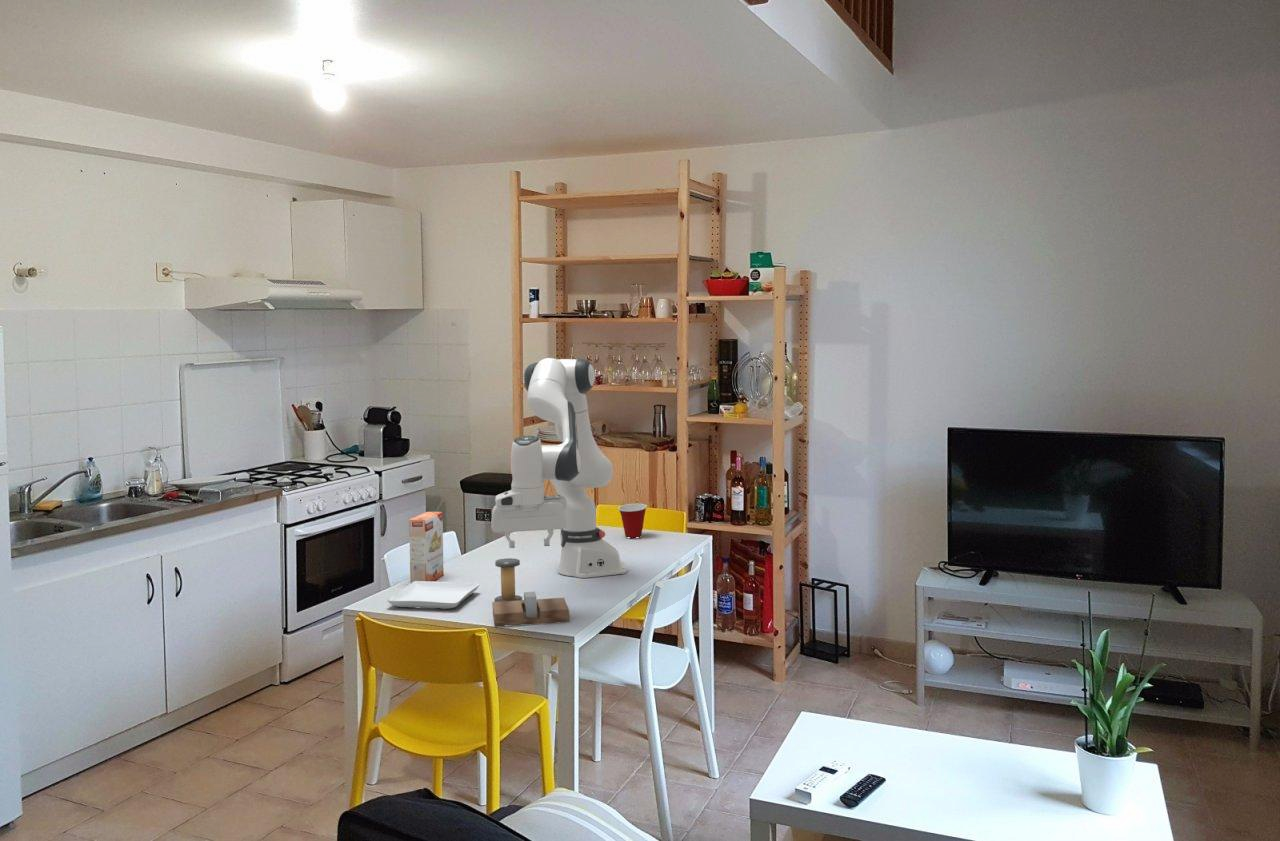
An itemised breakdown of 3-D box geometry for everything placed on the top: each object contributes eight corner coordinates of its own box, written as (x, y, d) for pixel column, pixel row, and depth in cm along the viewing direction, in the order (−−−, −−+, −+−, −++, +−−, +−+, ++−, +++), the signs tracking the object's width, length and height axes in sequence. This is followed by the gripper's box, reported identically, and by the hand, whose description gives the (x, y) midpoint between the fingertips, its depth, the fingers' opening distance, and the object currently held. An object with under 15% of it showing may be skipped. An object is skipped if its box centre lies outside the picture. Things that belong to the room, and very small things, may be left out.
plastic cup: (612, 537, 387) (611, 506, 386) (633, 533, 394) (633, 502, 393) (631, 542, 379) (631, 509, 378) (653, 537, 386) (652, 505, 385)
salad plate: (457, 613, 291) (456, 601, 290) (385, 611, 294) (385, 599, 294) (481, 593, 311) (480, 582, 311) (414, 591, 315) (414, 580, 315)
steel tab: (535, 612, 286) (534, 591, 285) (537, 617, 281) (536, 596, 280) (524, 613, 285) (524, 592, 285) (525, 618, 280) (525, 596, 280)
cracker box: (428, 586, 319) (425, 519, 317) (409, 585, 321) (407, 519, 318) (445, 575, 333) (443, 511, 331) (427, 574, 334) (425, 510, 332)
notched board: (564, 609, 292) (563, 597, 291) (569, 621, 280) (568, 609, 280) (492, 614, 288) (492, 602, 288) (494, 626, 276) (494, 614, 276)
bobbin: (521, 599, 303) (520, 557, 302) (523, 606, 296) (522, 563, 294) (494, 600, 302) (492, 558, 301) (495, 608, 294) (494, 565, 293)
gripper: (564, 492, 285) (566, 541, 286) (490, 496, 281) (491, 546, 282) (567, 496, 279) (568, 546, 280) (491, 500, 275) (492, 551, 276)
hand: (529, 546), depth 281 cm, fingers open, 8 cm apart
